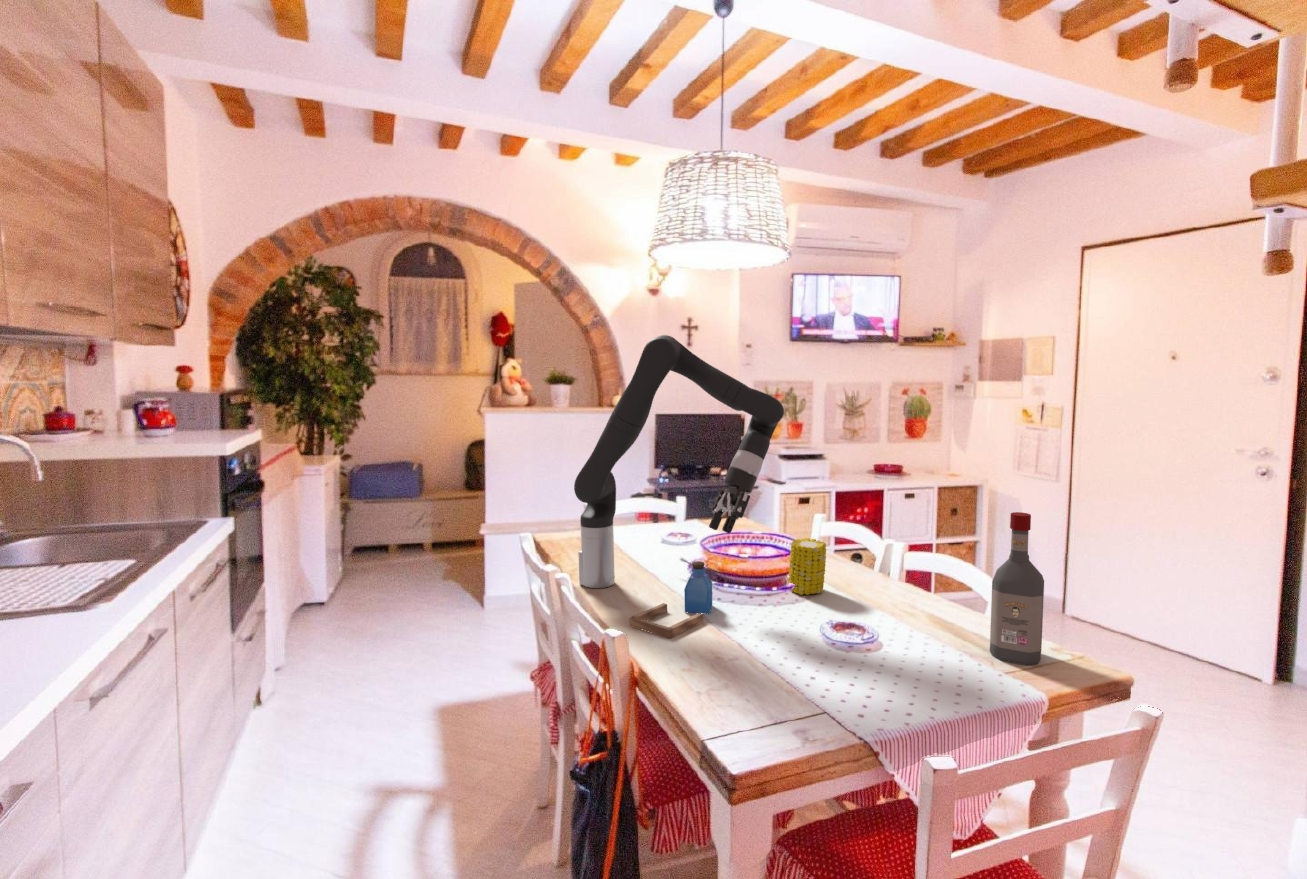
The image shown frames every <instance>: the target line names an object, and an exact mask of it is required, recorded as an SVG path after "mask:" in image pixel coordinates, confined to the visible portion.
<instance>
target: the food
mask: <svg viewBox="0 0 1307 879" xmlns="http://www.w3.org/2000/svg"><path fill="white" fill-rule="evenodd" d="M789 550H790V551H789V552H790V553H789V556H790V557H789V565H790V566H789V567H788V569H789V571H788V576H789V577H788V579H787V580H788V582H789V581H790V583H793V584H795V585H796V587H794V588H793V589H792V590H790V591H791V592H792V593H793V592H794V594H798V595H800V596H803V595H806V596H809V595H810V594H811V595H814V594H822V593H823V591H824V583H825V574H826V562H827V561H826V559H827V556H826V555H827V544H826V542H825V541H821V540H817V539H816V538H811V539H810V538H809V537H807V538H806V537H805V538H801V539H800V538H796V539H792V541H791V543H790V549H789Z"/></svg>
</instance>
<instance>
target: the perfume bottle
mask: <svg viewBox="0 0 1307 879" xmlns="http://www.w3.org/2000/svg"><path fill="white" fill-rule="evenodd" d="M691 565H692V566H691V573H690V576H689V578H688V580H687V582H686V585H685V586H684V589H683V590H684V591H683V592H684V613H685V612H688V613H687V614H696V613H706V614H705V615H710V614H711V611H712V608H713V581H712V580H711V578H710V576H709V574H707V573H705V572H706V567H705V562H704V561H701V560H699V561H693V562H691ZM710 610H711V611H710ZM707 613H708V614H707ZM709 613H710V614H709Z"/></svg>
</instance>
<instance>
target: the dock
mask: <svg viewBox="0 0 1307 879" xmlns="http://www.w3.org/2000/svg"><path fill="white" fill-rule="evenodd" d="M667 613H668V604H667V603H664V602H663V603H660V604H659V605H655V606H654V607H651V608H649V609H646V610H644V611H642V612H640V613H637V614H636V615H633V616H631V617H629V618H628V625H629V627H632V628H635V629H637V630H641V629H643V630H642V631H644V630H646V631H645V632H647V631H649V632H648V633H650V632H652V633H651V634H653V633H654V635H657V636H661V637H664V638H667V639H672V638H673V637H675V636H678V635H680V634H681V633H684V632H686V631H688V630H690V629H692V628H694V627H696V626H698V625H700V624H702V623H703V622H704V614H701V613H698V614H696V613H695V614H694V615H692V616H689V617H687V618H685V619H683V620H680V621H679V622H677V623H675V624H673V625H671V626H666V625H662V624H659V623H656V622H653V621H649V620H651V619H655V618H657V617H659V616H661V615H663V614H667ZM647 620H648V621H647ZM685 630H686V631H685Z"/></svg>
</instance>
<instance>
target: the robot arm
mask: <svg viewBox="0 0 1307 879" xmlns="http://www.w3.org/2000/svg"><path fill="white" fill-rule="evenodd" d="M670 371H672V372H674V373H676V374H678V375H681V376H682V377H685V378H686V379H689V380H690V381H692V382H693V383H694V384H695V385H697V386H699V387H700V388H701V389H702V390H703V391H705V393H707V394H708V395H709V396H710V397H712V398H714V399H715V400H717V401H718V402H720V403H722V404H723V405H725V406H727V407H729V408H731V409H732V410H734V411H737V412H744V413H746V414H748V415H750V416H751V418H750V420H749V424H748V427H747V428H746V432H745V434H744V436H742V440H741V442H740V445H739V447H738V450H737V451H736V453H735V454H734V457H733V458H732V460H731V462H730V466H729V467H728V470H727V472H726V474H725V477H724V480H723V483H724V484H725V486H727V488H726V489H725V490H724V489H720V490H719V492H718V495H717V497H716V499H715V501H714V504H713V505H712V507H711V511H712V512H713V516H712V517H711V520H710V522H709V525H708V527H709V528H710V529H711V530H713V531H717V530H718V528H719V527H720V524H721V522H722V519H723V517H724V516H725V514H726V513H728V516H726V520H725V522H724V523H723V526H722V529H721V530H722V531H723V532H724V533H726V534H731V533H732V531H733V529H734V526H735V524H736V523H737V522H736V521H738V520H739V519H742V518H743V517H744V514H745V512H746V510H747V506H748V503H749V502H750V498H751V495H750V494H752V493H753V490H754V486H755V485H756V483H757V480H758V478H759V475H760V473H761V470H762V467H763V463H764V460H765V458H766V456H767V454H768V451H769V449H770V445H771V438H772V437H773V435H774V432H775V430H776V428H777V426H778V424H779V423H780V422H781V421H782V419H783V417H784V414H785V413H784V412H785V409H784V406H783V404H782V403H781V401H780V400H778V399H777V398H775V397H774V396H772V395H770V394H768V393H766V392H764V391H763V392H762V391H760V390H757V389H754V388H751V387H750V386H748V385H747V384H745V383H743V382H741V381H740V380H738V379H736V378H734V377H732V376H731V375H729V374H727V373H726V372H724V371H722V370H720V369H718V368H716V367H715V366H713V365H711V364H709V363H708V362H706V361H704V360H703V359H701V358H700V357H698V356H697V355H696V354H694V353H693V352H692V351H691V350H689V349H688V348H687V347H686V346H684V345H683V344H682V343H681V342H679V341H678V339H676V338H674V337H673V336H671V335H668V334H666V335H665V334H663V335H659V336H656V337H654V338H652V339H650V340H649V341H647V343H646V344H645V346H644V347H643V350H642V353H641V354H640V358H639V361H638V364H637V365H636V368H635V371H634V373H633V375H632V377H631V379H630V382H629V383H628V385H627V387H626V388H625V390H624V391H623V392H622V394H621V396H620V397H619V400H618V401H617V403H616V405H615V407H614V409H613V410H612V412H611V415H610V416H609V419H608V421H607V423H606V424H605V427H604V428H603V431H602V433H601V435H600V436H599V439H598V441H596V442H597V443H596V445H595V447H594V448H593V450H592V452H591V454H590V456H589V458H588V459H587V460H586V462H585V463H584V465H583V466H582V468H581V469H580V471H579V473H578V474H577V476H576V478H575V480H574V485H573V486H574V488H573V489H574V494H575V496H576V498H577V500H579V501H580V502H581V503H585V504H586V507H585V509H584V511H583V512H582V513H581V515H580V543H581V544H580V546H581V547H580V548H581V549H580V550H579V552H578V579H579V580H578V582H579V583H578V584H579V585H580V586H583V587H585V588H589V589H604V588H608V587H611V586H613V585H615V577H616V576H615V548H614V547H615V545H614V544H615V543H614V542H615V541H614V540H615V538H614V537H615V536H614V517H615V514H616V507H617V506H616V505H617V485H616V479H615V476H614V474H613V472H612V470H613V468H614V467H615V465H616V464H617V462H618V461H619V460H620V459H621V458H622V457H623V456H624V455H625V453H627V451H628V450H629V449H630V448H631V447H632V446H633V445H634V443H636V441H637V439H638V438H639V436H640V435H641V432H642V430H643V429H644V427H645V425H646V423H647V419H648V418H649V415H650V413H651V408H652V404H653V403H654V398H655V396H656V393H657V392H658V390H659V387H661V384H662V383H663V382H664V380H665V379H666V377H667V376H668V374H669V373H670Z"/></svg>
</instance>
